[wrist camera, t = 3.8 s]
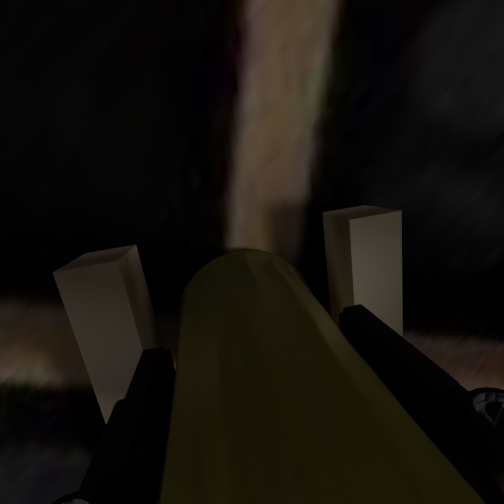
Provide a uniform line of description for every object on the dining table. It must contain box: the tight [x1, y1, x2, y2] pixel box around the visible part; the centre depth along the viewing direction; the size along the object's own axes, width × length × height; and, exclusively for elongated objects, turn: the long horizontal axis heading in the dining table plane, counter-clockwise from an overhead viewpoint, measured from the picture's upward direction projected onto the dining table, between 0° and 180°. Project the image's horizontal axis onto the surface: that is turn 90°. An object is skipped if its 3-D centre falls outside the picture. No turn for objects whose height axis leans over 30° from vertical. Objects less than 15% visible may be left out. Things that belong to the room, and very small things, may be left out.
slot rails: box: [53, 205, 403, 424], centre depth 14 cm, size 21×12×2 cm, turn 9°
